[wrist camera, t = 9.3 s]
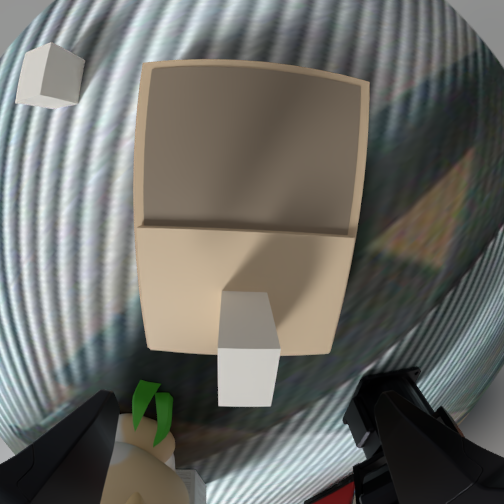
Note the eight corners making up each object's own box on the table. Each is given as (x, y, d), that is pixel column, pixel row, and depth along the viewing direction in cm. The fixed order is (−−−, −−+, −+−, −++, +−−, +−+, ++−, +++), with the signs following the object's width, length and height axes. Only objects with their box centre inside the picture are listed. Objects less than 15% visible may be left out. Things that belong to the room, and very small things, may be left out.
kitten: (93, 354, 18) (18, 515, 3) (214, 393, 19) (211, 576, 5) (98, 438, 22) (69, 541, 8) (181, 464, 24) (173, 571, 9)
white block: (141, 49, 12) (113, 20, 8) (130, 150, 14) (94, 150, 10) (28, 78, 11) (-11, 69, 7) (19, 163, 13) (-23, 170, 9)
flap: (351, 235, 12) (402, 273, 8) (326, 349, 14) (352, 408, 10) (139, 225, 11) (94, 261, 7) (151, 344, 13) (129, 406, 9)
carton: (342, 95, 13) (370, 81, 10) (315, 320, 17) (330, 352, 14) (161, 81, 12) (142, 62, 9) (160, 315, 17) (147, 348, 13)
